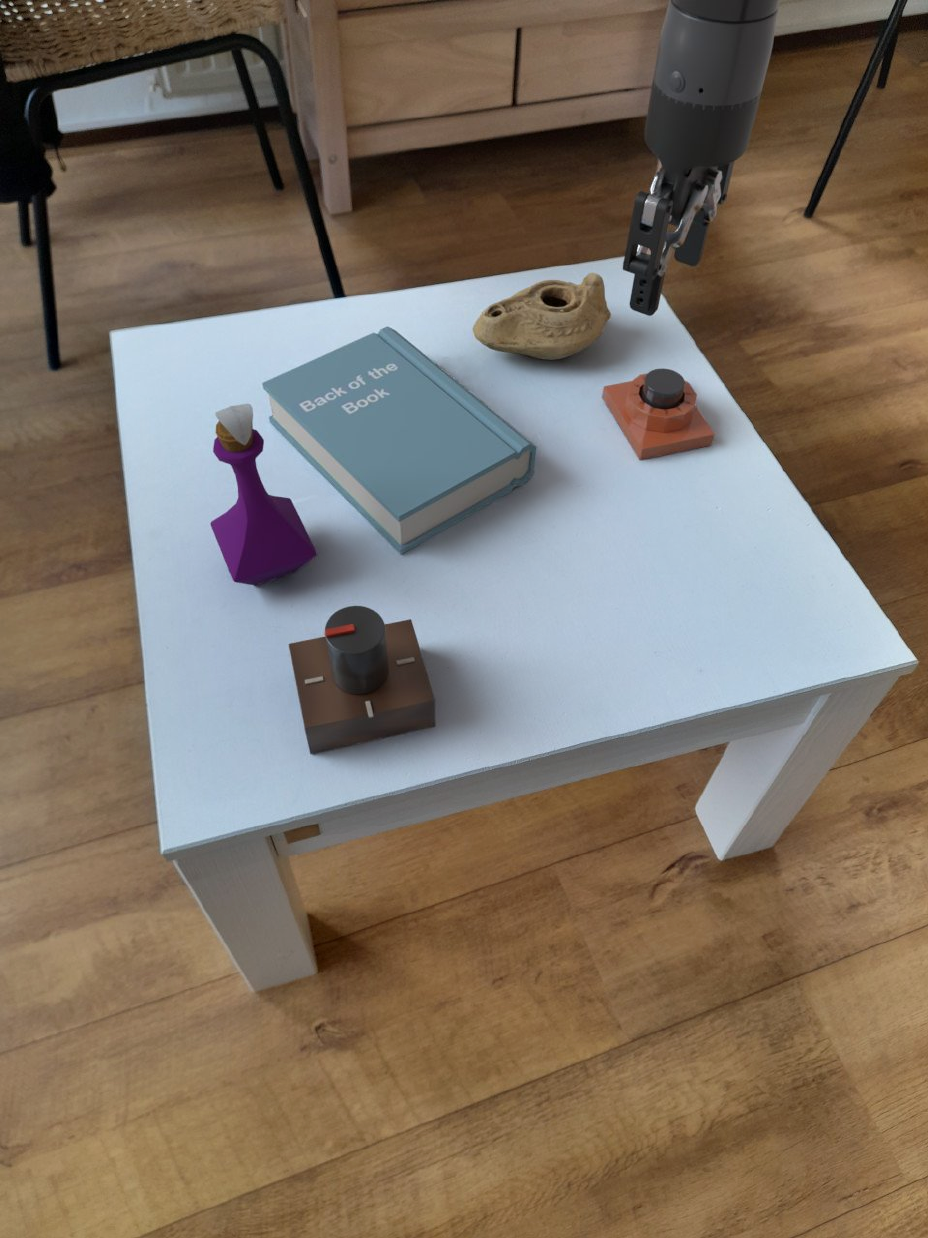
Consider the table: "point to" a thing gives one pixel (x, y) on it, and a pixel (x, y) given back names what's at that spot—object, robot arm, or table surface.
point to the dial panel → (368, 715)
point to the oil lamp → (546, 319)
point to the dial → (357, 649)
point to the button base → (657, 420)
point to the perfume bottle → (255, 509)
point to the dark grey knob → (663, 389)
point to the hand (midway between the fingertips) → (665, 285)
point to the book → (398, 436)
